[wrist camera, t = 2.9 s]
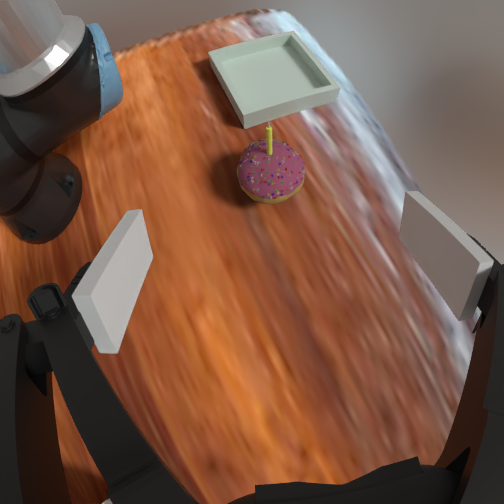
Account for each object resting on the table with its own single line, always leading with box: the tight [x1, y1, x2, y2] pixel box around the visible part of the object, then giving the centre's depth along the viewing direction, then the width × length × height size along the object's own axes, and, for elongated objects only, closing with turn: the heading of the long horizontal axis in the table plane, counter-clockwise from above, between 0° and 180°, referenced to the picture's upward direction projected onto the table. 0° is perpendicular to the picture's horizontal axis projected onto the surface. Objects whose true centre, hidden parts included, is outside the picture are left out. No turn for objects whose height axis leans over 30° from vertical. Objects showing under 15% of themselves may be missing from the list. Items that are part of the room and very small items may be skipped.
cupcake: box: [237, 121, 305, 204], centre depth 38 cm, size 9×8×12 cm
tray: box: [208, 31, 340, 129], centre depth 47 cm, size 16×16×4 cm
